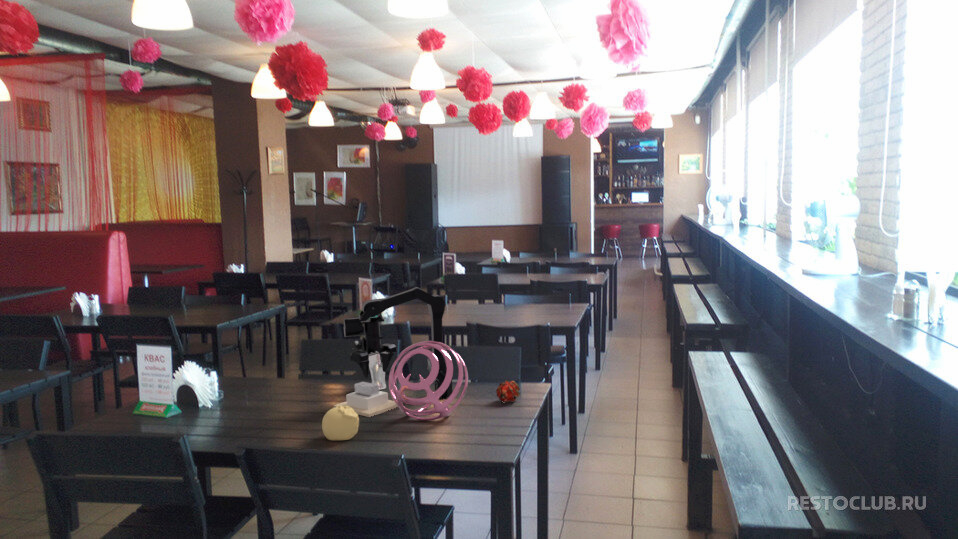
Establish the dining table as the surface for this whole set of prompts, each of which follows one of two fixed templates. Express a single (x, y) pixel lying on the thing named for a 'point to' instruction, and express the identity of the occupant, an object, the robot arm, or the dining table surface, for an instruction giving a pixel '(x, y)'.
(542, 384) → the dining table surface
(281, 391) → the dining table surface
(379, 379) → the beer glass
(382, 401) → the cream square frame
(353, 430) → the sculpture
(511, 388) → the dragon fruit
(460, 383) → the pink openwork sphere
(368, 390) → the grey wooden block
